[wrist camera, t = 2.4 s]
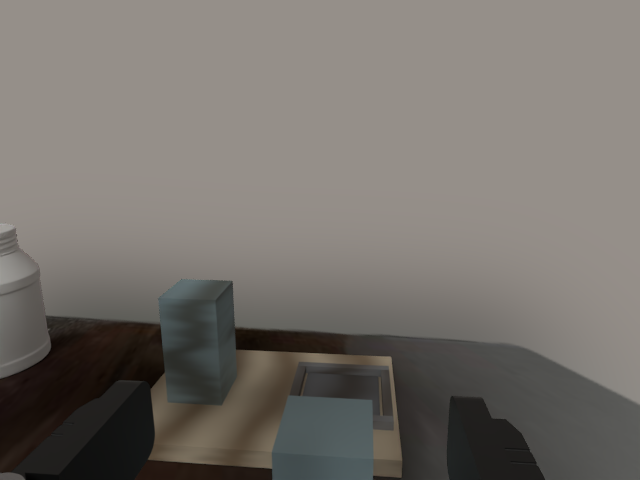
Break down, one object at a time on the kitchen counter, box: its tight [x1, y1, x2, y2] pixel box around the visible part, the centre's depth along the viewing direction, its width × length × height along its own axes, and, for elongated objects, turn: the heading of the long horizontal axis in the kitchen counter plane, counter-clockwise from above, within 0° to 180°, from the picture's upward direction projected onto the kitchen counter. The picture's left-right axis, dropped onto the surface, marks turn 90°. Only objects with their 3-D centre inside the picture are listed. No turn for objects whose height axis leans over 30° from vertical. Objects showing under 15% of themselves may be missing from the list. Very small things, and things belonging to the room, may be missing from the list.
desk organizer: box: [148, 279, 402, 478], centre depth 42 cm, size 23×16×12 cm
